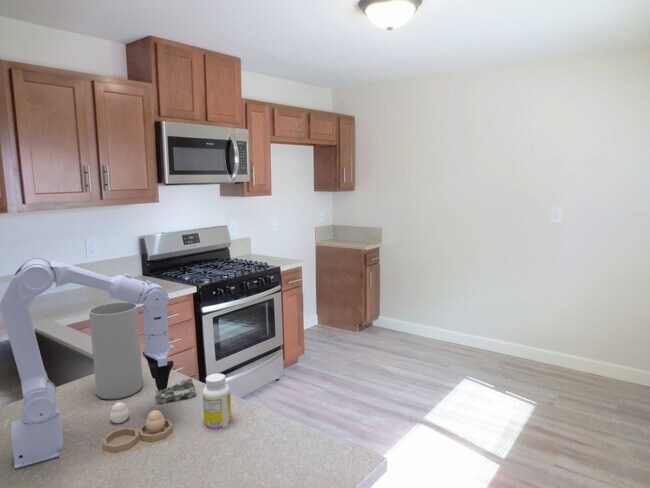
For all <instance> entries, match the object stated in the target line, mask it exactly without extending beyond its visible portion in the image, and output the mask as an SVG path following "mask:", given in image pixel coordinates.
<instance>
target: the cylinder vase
mask: <svg viewBox="0 0 650 488" xmlns="http://www.w3.org/2000/svg"><path fill="white" fill-rule="evenodd" d="M88 315H89V327H90V337H91V338H90V339H91V349H92V359H93V370H94V382H95V391H96V395H97V397H99V398H100V399H103V400H119V399H123V398H127V397H128V398H129V397H131V396H133V395H135V394H137V393H138V392H140V390H142V388H143V385H144V380H143V379H144V377H143V366H142V365H143V364H142V354H141V353H142V352H141V339H140V337H141V336H140V324H139V312H138V304H134V303H130V302H126V301H119V302H109V303H105V304H100V305H97V306H93V307H92V308H90V309H89V310H88Z"/></svg>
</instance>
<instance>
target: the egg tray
mask: <svg viewBox="0 0 650 488" xmlns="http://www.w3.org/2000/svg"><path fill="white" fill-rule="evenodd" d="M173 427H174V426H173V424H172V421H171V419H166V418H165V425H164V427H163V429H162V432H160V433H157V434H153V435H150V432H149V431H148V430H147V429H146V425H145V423H144V424H143V425H141V426H140V427H138V428H132V427H122V428H119V429H115V430H112V431H111V432H109V433H108V434H107V435H106V436H104V437H102V438H101V439H102V445H103V452H104V459H108V458H112V457H115V456H118V455H119V456H120V455H122V454H125V453H128V452H132V451H135V450H140V449H143V448H146V447H149V446H152V445H156V444H161V443H163V442H166V441H169V440H173V439H176V438H177V437H176V434H175V432H174V428H173Z"/></svg>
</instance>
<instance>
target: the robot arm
mask: <svg viewBox="0 0 650 488" xmlns="http://www.w3.org/2000/svg"><path fill="white" fill-rule="evenodd" d="M54 283H55V288H58V287H61V286H65V285H67V284H74V285H81V286H84V287H89V288H93V289H98V290H100V291H101V290H102V291H107V293H108V295H109V297H110V298H111V299H116V300H119V301H121V302H130V303H134V304H137V305H142V312H143V315H142V323H143V326H142V327H143V339H144V342H143V343H144V351H143V352H142V355H143V356H144V358H145V359H146V361H147V364H148V365H147V366H148V368H149V372H150V375H151V378H152V379H154V382H155V386H156V389H158V391H159V390H163V389H167V387H168V386H169V385H168V384H169V378H170V373H171V371H172V368H173V367H174V361H173V360H169V361H168V356H169V354H170V352H171V351H173V350H175V346H174V344H170V338H169V337H170V336H169V322H168V320H169V319H168V312H167V308H168V307H167V306H168V304H169V302H170V296H169V294H168V293H167V291H166V289H164V288H163V287H162V286H161V285H160V284H157V283H155V282H154V281H153V282H152V281H150V280H147V279H146V280H145V281H143V280H140V279H138V278H137V279H136V278H133V277H132V275H131V274H130V273H129V274H128V273H125V274H124V275H123V274H117V275H115V276H113V277H110V276H108V275H104V274H101V273H97V272H94V271H92V270H88V269H85V268H82V267H78V266H76V265H73V264H70V263H66V262H62V261H57V260H52V259H51V260H50V261H49V260H47V259H45V258H42V257H32V258H29V259H27V260H26V261H24V262H23V263H22V264H21V265H20V266H19V267H18V268H17V269H16V270H15V271H14V273H13V275H12V278H11V279H10V282H9V284H8V285H7V287H6V289H5V291H4V293H3V295H2V298H1V300H0V310H1V311H0V312H1V315H2V318H3V322H4V325H5V329H6V332H7V333H6V334H7V337H8V340H9V343H10V346H11V350H12V354H13V358H14V361H15V363H16V364H15V365H16V368H17V372H18V377H19V379H20V382H21V391H22V396H23V403H22V404H23V405H22V407H21V414H22V417H21V418H19V419H16V420H13V421H12V422H11V424H10V425H11V428H10V429H11V430H10V432H11V433H10V435H11V436H10V437H11V447H12V448H11V449H12V455H13V462H14V469H19V468H21V467H22V468H23V467H25V466H29V465H30V466H31V465H33V464H37V463H40V462H41V463H42V462H43V461H48V460H51V459H55V458H59V457H60V449H61V448H63V446H64V437H63V426H62V419H61V418H62V417H61V409H60V408H61V407H59V406H58V405H57V401H56V399H57V398H56V393H57V389H56V385H55V384H54V383H53V382H52V381H51V380H50V379H49V377H48V373H47V371H46V370H45V366H44V362H43V358H42V356H41V352H40V347H39V343H38V339H37V336H36V331H35V328H34V324H33V321H32V317H31V312H30V309H29V305H31V304H32V303H33V301H34V300H35V299H36V297H38V296H39V295H41V294H43V293H45V292H46V291H48V289H50V288H51V287H52V285H53V284H54Z"/></svg>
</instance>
